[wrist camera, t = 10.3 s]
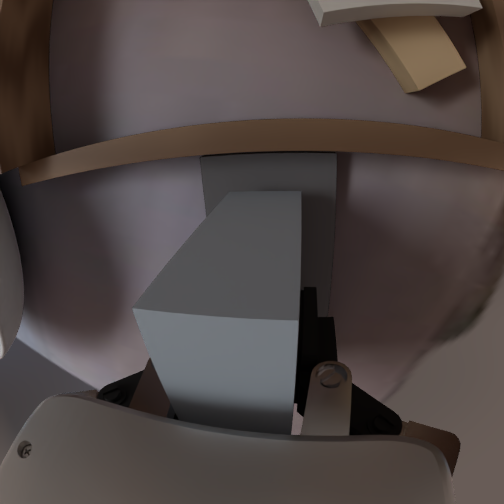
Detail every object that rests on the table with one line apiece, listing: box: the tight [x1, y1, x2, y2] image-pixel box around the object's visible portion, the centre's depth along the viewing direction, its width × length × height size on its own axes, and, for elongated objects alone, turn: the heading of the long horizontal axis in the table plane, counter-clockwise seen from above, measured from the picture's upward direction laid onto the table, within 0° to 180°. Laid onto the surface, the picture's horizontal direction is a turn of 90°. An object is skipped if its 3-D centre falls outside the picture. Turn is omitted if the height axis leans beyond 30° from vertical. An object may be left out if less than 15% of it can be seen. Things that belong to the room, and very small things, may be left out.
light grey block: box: [132, 191, 301, 435], centre depth 10 cm, size 10×3×8 cm, turn 4°
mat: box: [200, 151, 337, 317], centre depth 15 cm, size 13×6×1 cm, turn 4°
